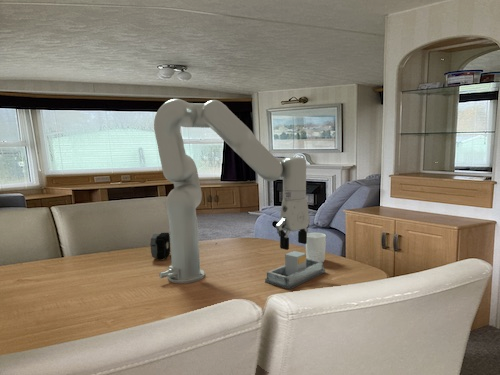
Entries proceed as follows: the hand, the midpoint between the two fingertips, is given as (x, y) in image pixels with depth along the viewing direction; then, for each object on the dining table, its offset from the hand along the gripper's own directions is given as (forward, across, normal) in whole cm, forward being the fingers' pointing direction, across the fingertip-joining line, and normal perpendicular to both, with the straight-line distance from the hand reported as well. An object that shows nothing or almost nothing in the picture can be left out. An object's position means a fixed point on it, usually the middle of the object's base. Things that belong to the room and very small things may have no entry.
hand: (293, 246), depth 121 cm
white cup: (+11, +20, +4) cm, 23 cm away
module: (+10, +1, -1) cm, 10 cm away
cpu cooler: (+12, -16, +55) cm, 59 cm away
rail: (+11, +1, -1) cm, 11 cm away
